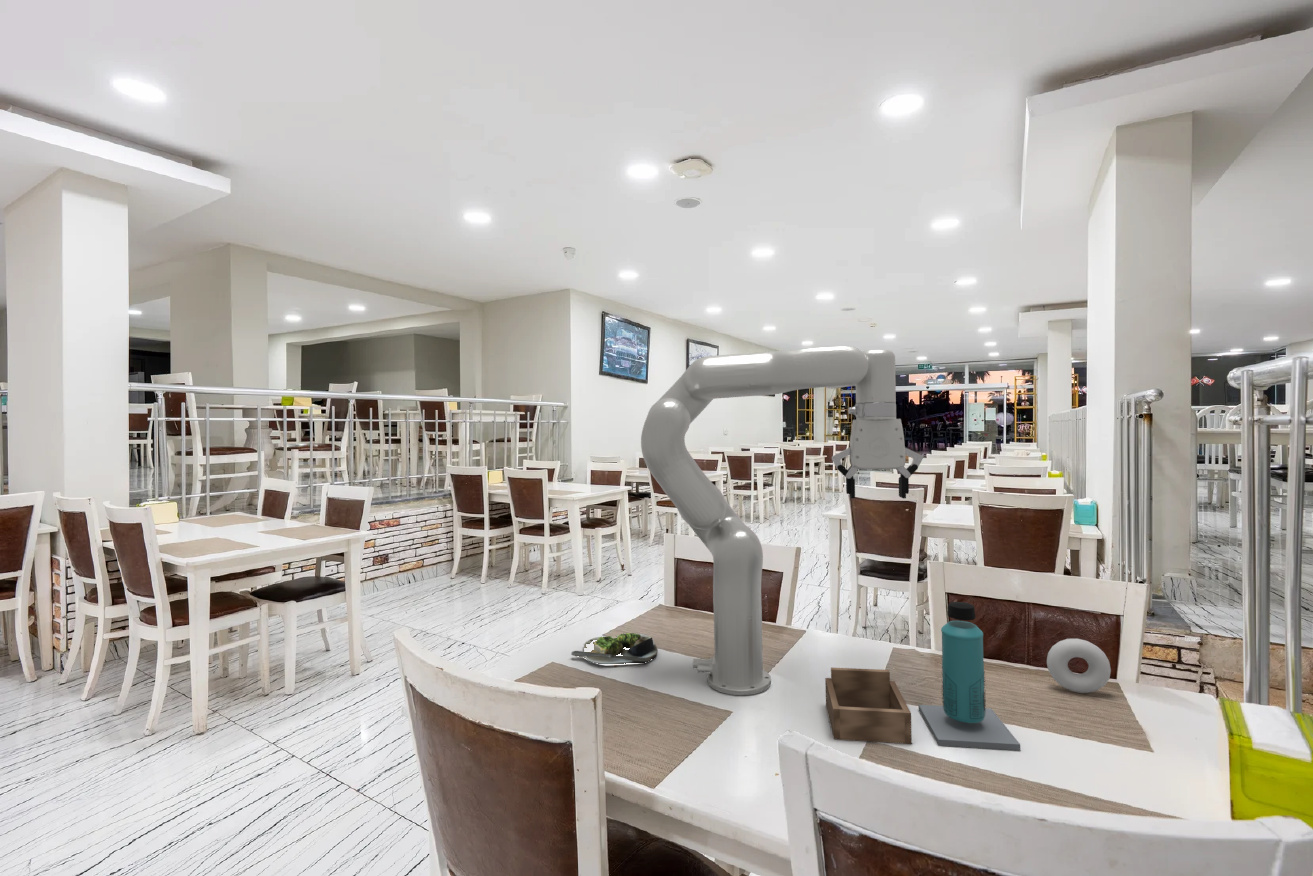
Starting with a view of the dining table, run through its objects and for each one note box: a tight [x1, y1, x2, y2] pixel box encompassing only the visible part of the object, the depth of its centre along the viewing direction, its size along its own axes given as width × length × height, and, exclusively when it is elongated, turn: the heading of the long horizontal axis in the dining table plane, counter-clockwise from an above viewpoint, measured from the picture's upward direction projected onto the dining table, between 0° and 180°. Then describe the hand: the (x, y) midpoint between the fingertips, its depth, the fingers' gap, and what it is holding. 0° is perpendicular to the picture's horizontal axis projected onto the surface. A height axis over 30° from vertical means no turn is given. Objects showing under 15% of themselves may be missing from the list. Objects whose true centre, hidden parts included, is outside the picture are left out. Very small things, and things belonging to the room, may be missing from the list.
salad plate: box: [571, 632, 659, 664], centre depth 137 cm, size 19×18×5 cm
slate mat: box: [917, 704, 1021, 752], centre depth 101 cm, size 12×12×1 cm
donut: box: [1046, 638, 1112, 694], centre depth 113 cm, size 10×4×10 cm, turn 65°
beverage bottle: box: [940, 601, 987, 723], centre depth 100 cm, size 6×7×20 cm
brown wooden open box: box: [824, 666, 912, 745], centre depth 103 cm, size 12×12×7 cm
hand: (877, 497), depth 121 cm, fingers open, 9 cm apart
